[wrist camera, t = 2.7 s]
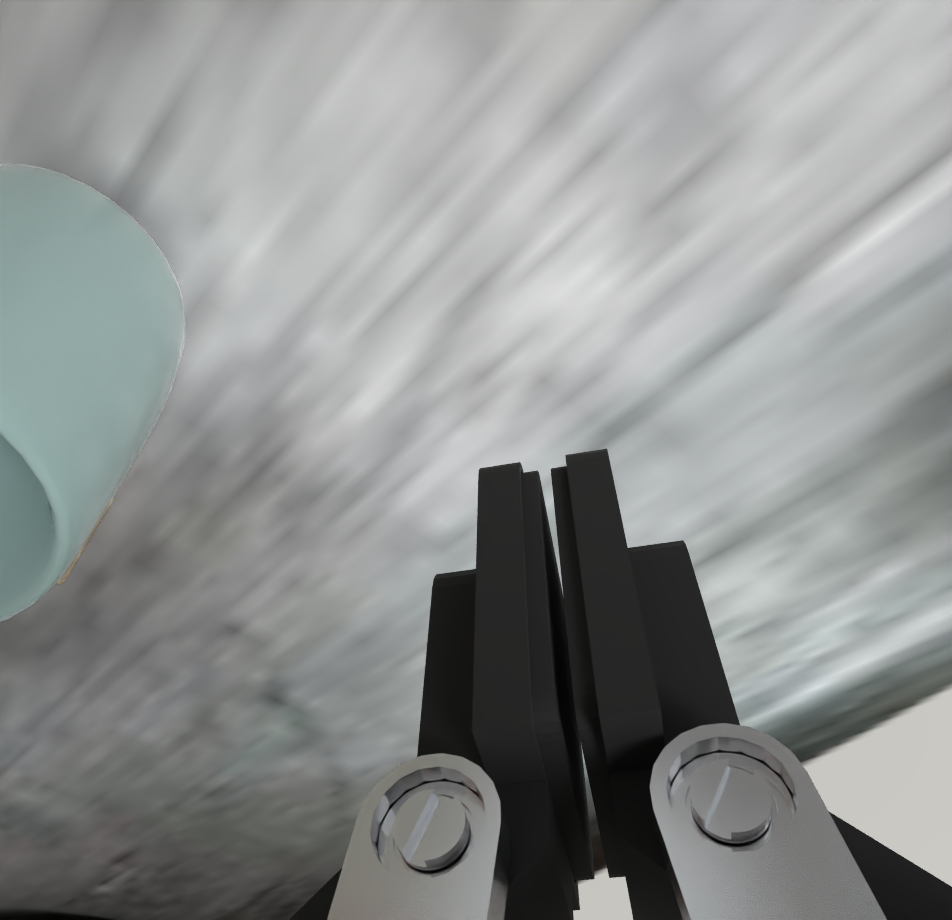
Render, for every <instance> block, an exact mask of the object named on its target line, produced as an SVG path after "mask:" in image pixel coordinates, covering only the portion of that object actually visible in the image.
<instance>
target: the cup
mask: <svg viewBox="0 0 952 920" xmlns="http://www.w3.org/2000/svg"><path fill="white" fill-rule="evenodd" d="M185 322H186V316H185V304H184V300H183V296H182V292H181V288H180V285H179V282H178V280H177V278H176V276H175V274H174V272H173V270H172V268H171V266H170V264H169V262H168V260H167V258H166V257H165V255H164V254H163V252H162V251H161V249H160V248H159V247H158V245H157V244H156V242H155V241H154V239H153V238H152V237H151V236H150V235H149V233H148V232H147V231H146V230H145V229H144V228H143V227H142V226H141V225H140V224H139V223H138V222H137V221H136V220H135V219H134V217H132V216H131V215H130V214H129V213H128V212H126V211H125V210H124V209H123V208H121V207H120V206H119V205H118V204H117V203H115V202H114V201H113V200H112V199H110V198H108V197H107V196H105V195H104V194H102V193H100V192H99V191H97V190H96V189H94V188H92V187H91V186H89V185H87V184H85V183H83V182H81V181H79V180H76V179H74V178H72V177H69V176H67V175H65V174H63V173H60V172H58V171H55V170H51V169H47V168H42V167H38V166H34V165H29V164H16V163H0V622H1V621H4V620H6V619H9V618H11V617H13V616H15V615H16V614H18V613H20V612H22V611H23V610H25V609H27V608H28V607H30V606H32V605H34V604H35V603H36V602H37V601H38V600H39V599H40V598H41V597H42V596H43V595H44V594H45V593H46V592H47V591H48V590H50V589H51V588H52V587H53V586H54V585H55V584H56V583H57V582H58V581H59V580H60V579H61V577H62V576H63V575H64V574H65V572H66V571H67V570H68V568H69V567H70V566H71V564H72V563H73V561H74V560H75V558H76V557H77V555H78V554H79V552H80V551H81V549H82V547H83V546H84V544H85V543H86V541H87V539H88V538H89V536H90V535H91V533H92V531H93V530H94V528H95V526H96V525H97V523H98V521H99V520H100V518H101V517H102V515H103V513H104V512H105V510H106V508H107V507H108V505H109V503H110V502H111V500H112V498H113V497H114V495H115V494H116V492H117V490H118V489H119V487H120V485H121V484H122V482H123V480H124V479H125V477H126V475H127V474H128V472H129V470H130V469H131V467H132V465H133V464H134V462H135V460H136V458H137V457H138V455H139V453H140V452H141V450H142V448H143V446H144V444H145V443H146V441H147V439H148V437H149V435H150V434H151V432H152V430H153V428H154V426H155V424H156V422H157V420H158V418H159V416H160V414H161V412H162V410H163V408H164V406H165V403H166V401H167V399H168V397H169V394H170V392H171V389H172V386H173V383H174V380H175V377H176V374H177V371H178V367H179V364H180V361H181V357H182V354H183V349H184V343H185Z"/></svg>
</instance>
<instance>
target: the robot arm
mask: <svg viewBox="0 0 952 920" xmlns="http://www.w3.org/2000/svg"><path fill="white" fill-rule="evenodd" d="M566 463H567V466H565V467H558V468H552V469H551V476H552V486H553V496H554V506H555V516H556V526H557V536H558V546H559V556H560V566H561V576H562V586H563V593H562V588H561V583H560V578H559V573H558V568H557V562H556V557H555V552H554V547H553V542H552V537H551V532H550V527H549V522H548V517H547V512H546V506H545V501H544V496H543V491H542V486H541V481H540V476H539V472H538V471H532V472H526V473H523V469H522V465H521V463H520V462H518V463H512V464H506V465H499V466H493V467H486V468H480V469H479V478H478V516H477V555H476V569H473V570H465V571H458V572H451V573H444V574H436V576H435V578H434V581H433V587H432V597H431V609H430V620H429V631H428V642H427V654H426V665H425V676H424V687H423V699H422V710H421V721H420V732H419V744H418V755H417V757H416V758H414V759H411V760H409V761H406V762H404V763H401V764H400V765H398V766H397V767H396V768H394V769H393V770H391V771H390V772H389V773H387V774H386V775H385V776H383V777H382V778H381V779H380V780H379V782H378V783H377V784H376V785H375V787H374V788H373V789H372V790H371V791H370V793H369V794H368V795H367V797H366V799H365V801H364V804H363V806H362V808H361V810H360V812H359V815H358V817H357V820H356V824H355V827H354V830H353V834H352V837H351V841H350V844H349V847H348V851H347V854H346V857H345V861H344V864H343V868H342V869H341V870H340V871H339V872H338V873H336V874H335V875H334V876H333V877H332V878H331V879H330V880H329V881H328V882H327V883H326V884H325V885H324V886H323V887H322V888H321V889H320V890H319V891H318V892H317V893H316V894H315V895H314V896H313V897H312V898H311V899H310V900H309V901H308V902H307V903H306V904H305V905H304V906H303V907H302V908H301V909H300V910H299V911H297V912H296V913H295V914H294V915H293V916H292V917H291V918H290V919H289V920H573V910H580V906H579V895H578V882H577V880H589V879H594V865H593V855H592V845H591V835H590V826H589V816H588V806H587V797H586V787H585V777H584V768H583V758H582V749H583V754H584V759H585V764H586V768H587V773H588V778H589V783H590V787H591V792H592V797H593V802H594V807H595V811H596V816H597V821H598V826H599V830H600V835H601V840H602V845H603V850H604V854H605V859H606V864H607V869H608V874H609V877H610V878H611V877H624V876H625V877H626V882H627V887H628V893H629V898H630V903H631V909H632V914H633V920H952V887H951V886H949V885H948V884H946V883H944V882H943V881H941V880H940V879H938V878H936V877H935V876H933V875H932V874H930V873H928V872H927V871H925V870H923V869H921V868H920V867H918V866H917V865H915V864H914V863H912V862H910V861H909V860H907V859H905V858H904V857H902V856H901V855H899V854H897V853H896V852H894V851H892V850H891V849H889V848H887V847H886V846H884V845H882V844H881V843H879V842H878V841H876V840H874V839H873V838H871V837H869V836H868V835H866V834H865V833H863V832H861V831H860V830H858V829H856V828H855V827H853V826H851V825H850V824H848V823H846V822H845V821H843V820H842V819H840V818H838V817H837V816H835V815H833V814H832V813H830V812H829V811H828V810H827V808H826V806H825V804H824V802H823V800H822V799H821V797H820V795H819V793H818V791H817V789H816V788H815V786H814V784H813V782H812V780H811V778H810V776H809V775H808V773H807V771H806V770H805V769H804V767H803V766H802V765H801V763H800V762H799V761H798V759H797V758H796V757H795V755H794V754H793V753H792V752H791V751H790V750H789V749H787V748H786V747H785V746H784V745H782V744H781V743H780V742H778V741H777V740H776V739H774V738H773V737H772V736H769V735H767V734H765V733H762V732H760V731H758V730H755V729H753V728H751V727H747V726H740V724H739V720H738V717H737V714H736V710H735V707H734V704H733V700H732V697H731V694H730V690H729V687H728V683H727V680H726V677H725V673H724V670H723V667H722V663H721V660H720V657H719V653H718V650H717V647H716V643H715V640H714V637H713V633H712V630H711V626H710V623H709V620H708V616H707V613H706V610H705V606H704V603H703V600H702V596H701V593H700V590H699V586H698V583H697V579H696V576H695V573H694V569H693V566H692V563H691V559H690V556H689V553H688V550H687V547H686V544H685V543H684V541H676V542H668V543H661V544H654V545H647V546H639V547H632V548H627V543H626V538H625V533H624V528H623V524H622V519H621V514H620V509H619V504H618V499H617V494H616V490H615V485H614V480H613V475H612V470H611V465H610V461H609V456H608V451H607V449H602V450H596V451H590V452H583V453H577V454H570V455H566ZM563 596H564V598H563ZM581 744H582V748H581Z"/></svg>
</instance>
